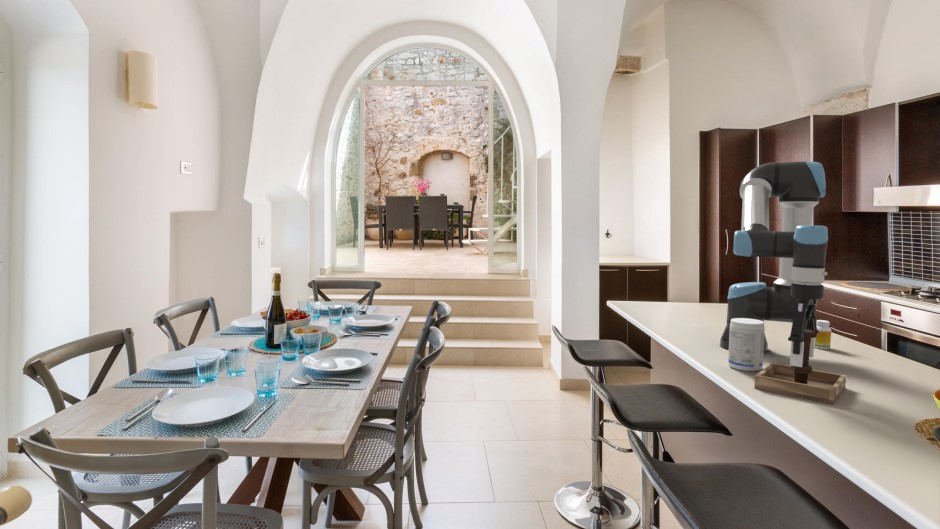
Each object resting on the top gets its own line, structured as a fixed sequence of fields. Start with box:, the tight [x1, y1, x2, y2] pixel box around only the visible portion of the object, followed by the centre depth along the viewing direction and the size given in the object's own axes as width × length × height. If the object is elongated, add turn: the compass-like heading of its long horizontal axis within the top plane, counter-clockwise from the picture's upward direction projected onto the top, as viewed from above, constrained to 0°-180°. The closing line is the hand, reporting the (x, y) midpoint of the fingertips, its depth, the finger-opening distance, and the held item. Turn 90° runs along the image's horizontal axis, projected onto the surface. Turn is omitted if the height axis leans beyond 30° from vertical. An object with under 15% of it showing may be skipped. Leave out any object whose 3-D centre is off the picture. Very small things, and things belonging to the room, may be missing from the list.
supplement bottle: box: [814, 319, 832, 350], centre depth 193 cm, size 5×5×10 cm
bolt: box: [790, 329, 817, 384], centre depth 146 cm, size 6×5×15 cm
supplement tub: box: [727, 318, 765, 372], centre depth 166 cm, size 10×10×15 cm
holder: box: [753, 362, 847, 405], centre depth 147 cm, size 18×18×4 cm
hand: (801, 361), depth 146 cm, fingers open, 13 cm apart
